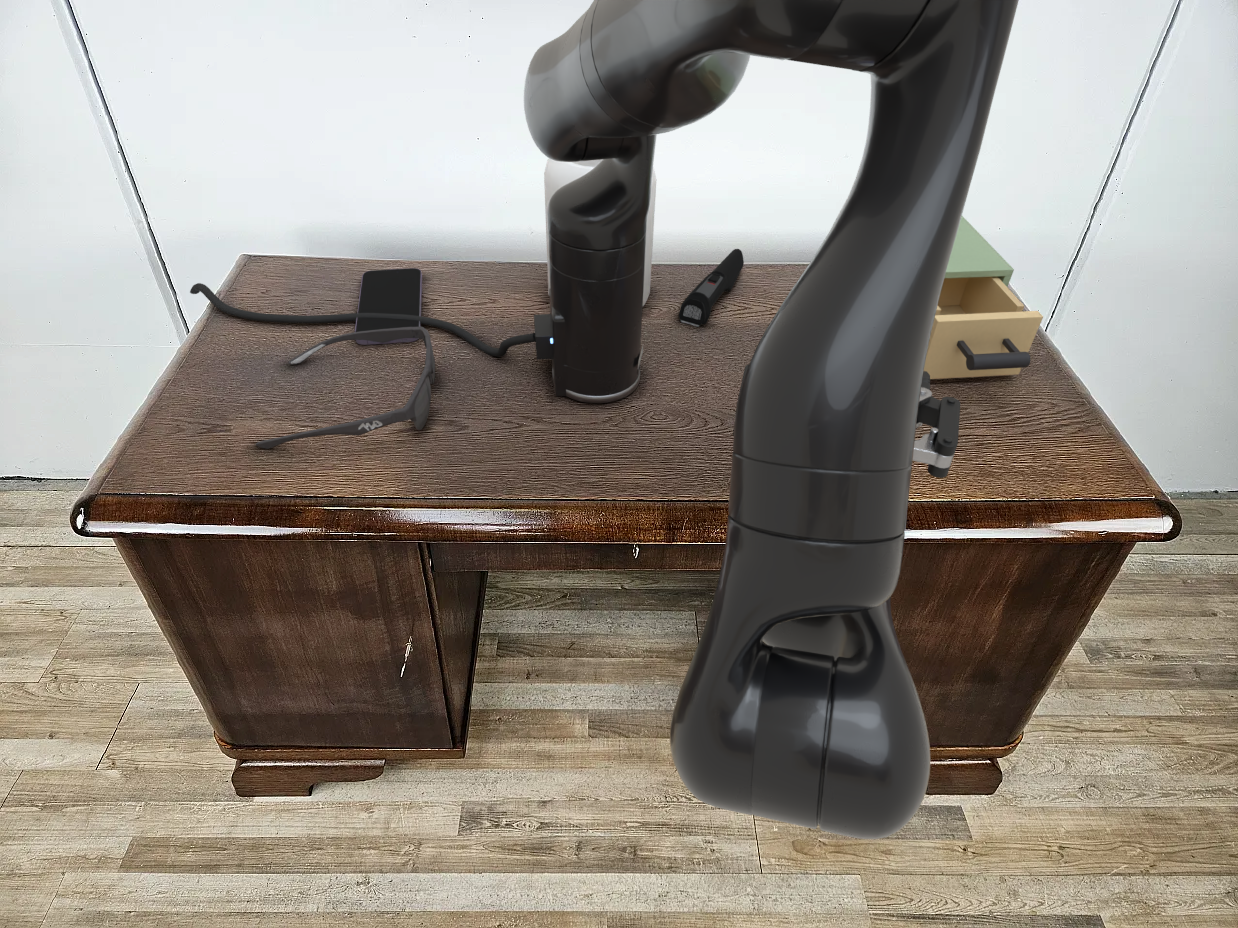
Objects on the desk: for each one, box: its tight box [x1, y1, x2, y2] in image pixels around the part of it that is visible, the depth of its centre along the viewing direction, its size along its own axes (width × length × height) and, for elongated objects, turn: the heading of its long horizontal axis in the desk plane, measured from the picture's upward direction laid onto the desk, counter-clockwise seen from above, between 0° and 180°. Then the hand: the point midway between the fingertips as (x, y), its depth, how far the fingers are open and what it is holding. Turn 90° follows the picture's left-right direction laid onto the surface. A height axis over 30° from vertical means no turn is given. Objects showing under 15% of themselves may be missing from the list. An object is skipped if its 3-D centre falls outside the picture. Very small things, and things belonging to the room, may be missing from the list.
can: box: [543, 158, 657, 307], centre depth 94 cm, size 12×12×20 cm
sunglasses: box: [255, 326, 436, 450], centre depth 83 cm, size 16×17×5 cm
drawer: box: [924, 276, 1044, 380], centre depth 89 cm, size 18×11×7 cm, turn 7°
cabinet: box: [944, 215, 1015, 288], centre depth 97 cm, size 15×13×9 cm
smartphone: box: [354, 267, 423, 346], centre depth 97 cm, size 7×1×15 cm
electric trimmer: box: [678, 248, 745, 328], centre depth 101 cm, size 4×16×3 cm, turn 153°
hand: (851, 363), depth 60 cm, fingers open, 8 cm apart
